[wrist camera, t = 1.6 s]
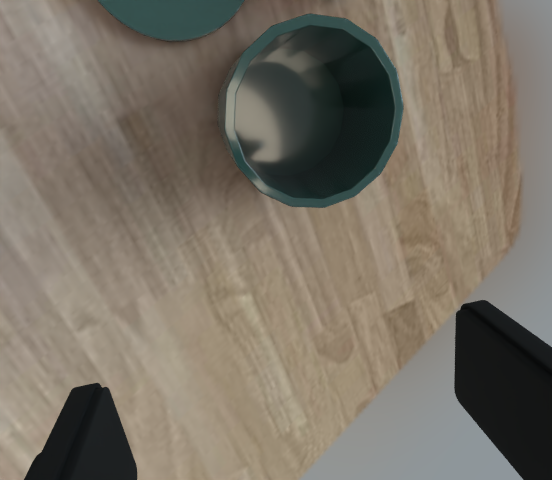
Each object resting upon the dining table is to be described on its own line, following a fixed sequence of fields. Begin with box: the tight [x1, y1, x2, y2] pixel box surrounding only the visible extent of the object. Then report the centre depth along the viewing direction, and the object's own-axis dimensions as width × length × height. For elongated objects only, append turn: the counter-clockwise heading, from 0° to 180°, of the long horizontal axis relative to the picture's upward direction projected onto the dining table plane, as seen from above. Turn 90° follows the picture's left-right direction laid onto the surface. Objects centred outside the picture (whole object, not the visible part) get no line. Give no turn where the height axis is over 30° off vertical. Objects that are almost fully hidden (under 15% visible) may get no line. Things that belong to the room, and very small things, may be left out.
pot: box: [217, 14, 403, 208], centre depth 29 cm, size 11×11×10 cm
